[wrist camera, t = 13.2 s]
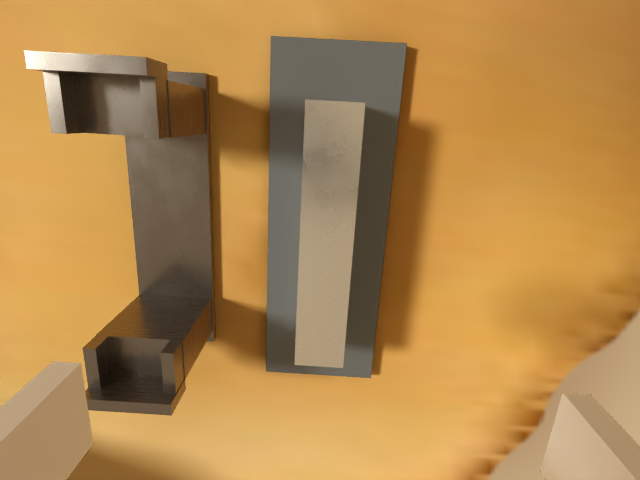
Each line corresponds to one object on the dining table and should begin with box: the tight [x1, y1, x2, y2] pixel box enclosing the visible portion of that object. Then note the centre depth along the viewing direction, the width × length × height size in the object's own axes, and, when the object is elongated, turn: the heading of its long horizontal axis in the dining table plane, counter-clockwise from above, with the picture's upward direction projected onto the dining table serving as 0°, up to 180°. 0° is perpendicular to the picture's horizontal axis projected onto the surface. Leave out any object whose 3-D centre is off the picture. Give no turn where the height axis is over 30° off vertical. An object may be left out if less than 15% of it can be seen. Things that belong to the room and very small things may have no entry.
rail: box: [294, 99, 365, 368], centre depth 28 cm, size 18×4×4 cm, turn 177°
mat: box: [266, 36, 407, 378], centre depth 30 cm, size 26×9×1 cm, turn 177°
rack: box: [24, 51, 216, 415], centre depth 26 cm, size 21×6×10 cm, turn 177°
